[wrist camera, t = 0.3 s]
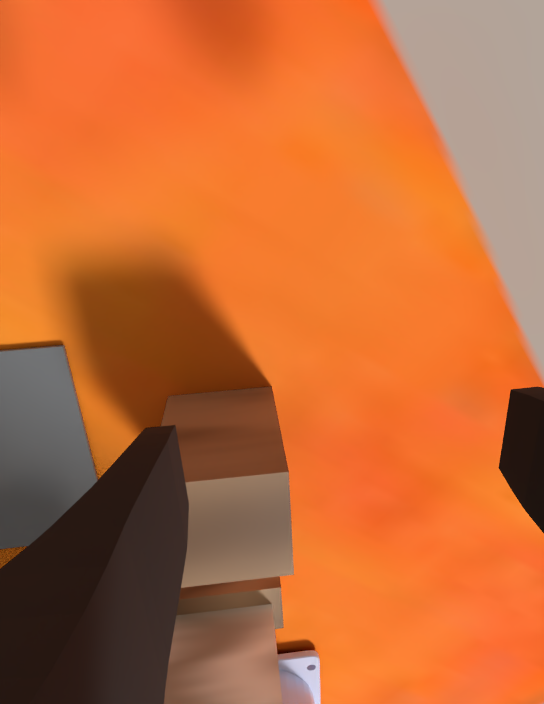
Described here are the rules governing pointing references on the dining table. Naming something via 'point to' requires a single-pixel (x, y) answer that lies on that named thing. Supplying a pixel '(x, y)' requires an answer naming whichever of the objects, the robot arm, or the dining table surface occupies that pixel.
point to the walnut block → (233, 485)
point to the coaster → (39, 443)
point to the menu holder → (226, 644)
